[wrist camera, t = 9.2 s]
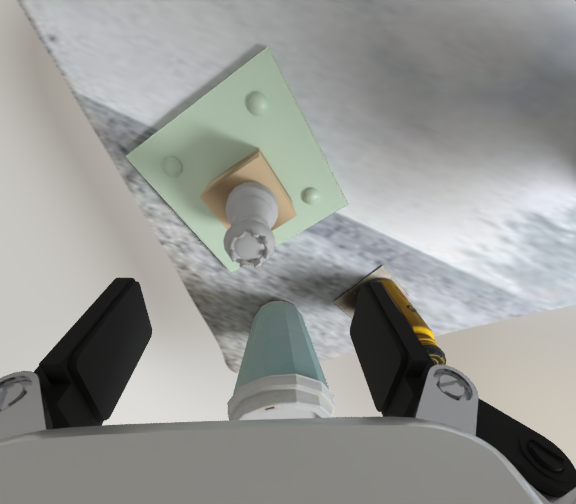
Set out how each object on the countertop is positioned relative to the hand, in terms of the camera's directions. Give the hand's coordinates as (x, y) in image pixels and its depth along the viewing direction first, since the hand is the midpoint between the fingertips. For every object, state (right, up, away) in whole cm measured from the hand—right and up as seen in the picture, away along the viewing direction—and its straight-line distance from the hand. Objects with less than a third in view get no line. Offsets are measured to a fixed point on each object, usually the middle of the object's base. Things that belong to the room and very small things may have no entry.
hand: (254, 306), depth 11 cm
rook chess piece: (-2, +6, +11) cm, 13 cm away
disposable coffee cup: (0, -7, +26) cm, 27 cm away
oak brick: (-2, +9, +16) cm, 18 cm away
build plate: (-3, +10, +16) cm, 19 cm away
